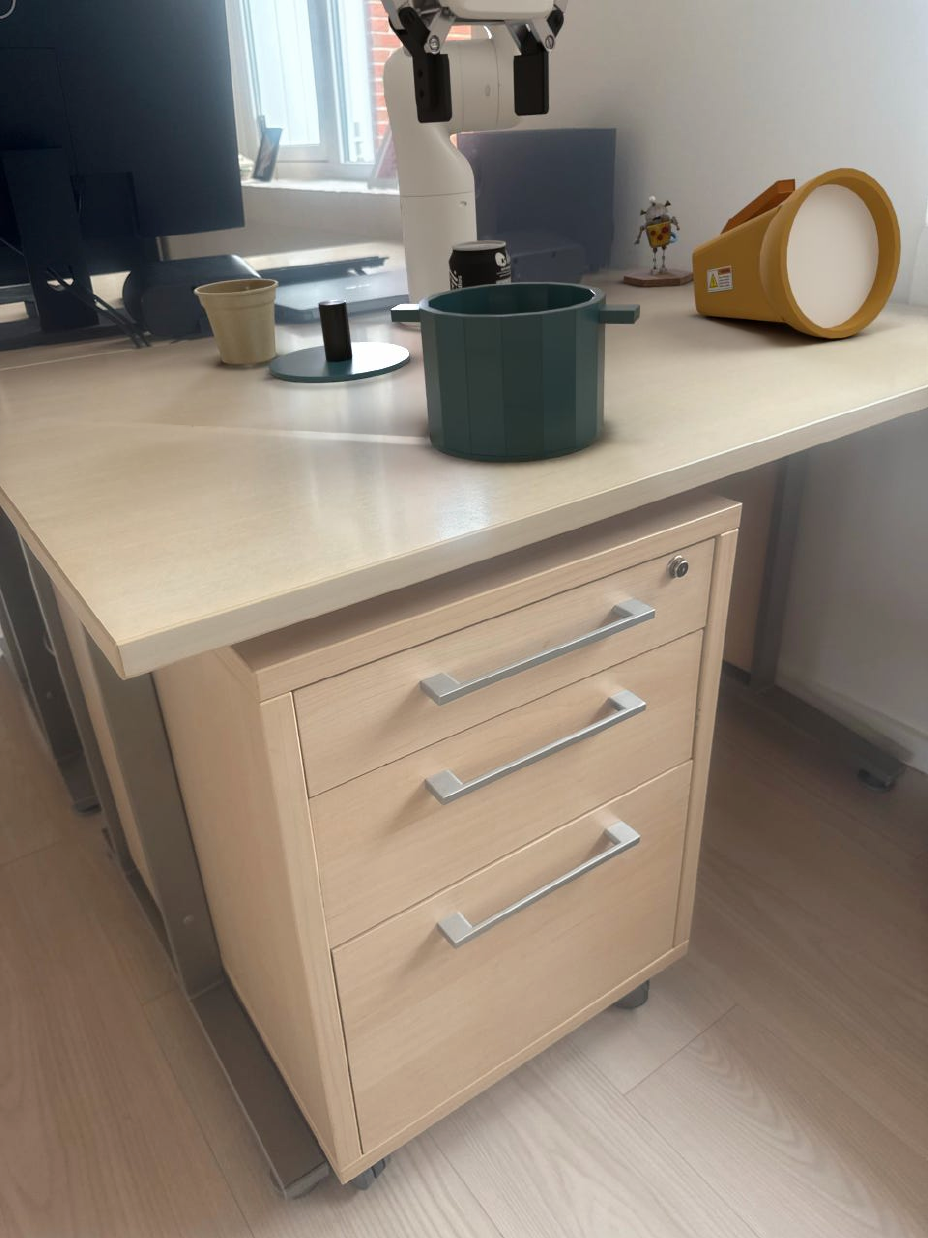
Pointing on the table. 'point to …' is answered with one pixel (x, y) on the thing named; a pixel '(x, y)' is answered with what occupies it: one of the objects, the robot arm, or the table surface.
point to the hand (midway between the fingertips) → (485, 118)
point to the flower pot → (241, 318)
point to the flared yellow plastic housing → (804, 256)
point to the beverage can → (479, 264)
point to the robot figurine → (657, 237)
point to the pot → (515, 367)
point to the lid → (338, 353)
